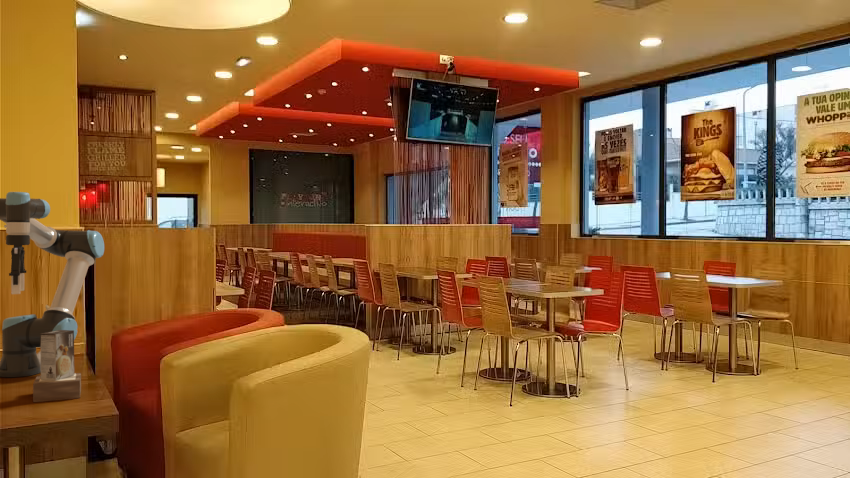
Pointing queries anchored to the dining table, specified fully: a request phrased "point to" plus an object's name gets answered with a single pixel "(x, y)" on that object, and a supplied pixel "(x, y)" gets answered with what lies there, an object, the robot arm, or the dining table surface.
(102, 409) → the dining table surface
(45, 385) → the pedestal
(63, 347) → the coffee box
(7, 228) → the robot arm
